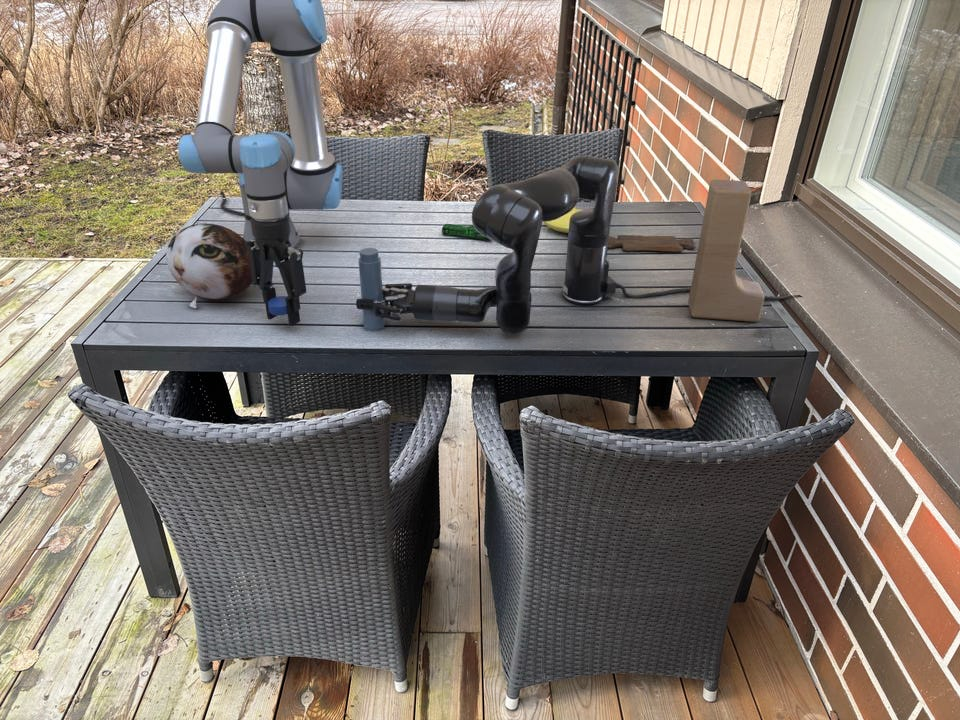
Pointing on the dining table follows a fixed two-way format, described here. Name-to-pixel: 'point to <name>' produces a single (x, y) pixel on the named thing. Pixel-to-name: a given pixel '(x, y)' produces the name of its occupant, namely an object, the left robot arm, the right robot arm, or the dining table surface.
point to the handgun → (463, 231)
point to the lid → (277, 305)
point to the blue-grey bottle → (371, 285)
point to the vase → (562, 222)
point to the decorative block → (723, 258)
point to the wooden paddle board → (650, 243)
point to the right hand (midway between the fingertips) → (360, 298)
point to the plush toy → (209, 261)
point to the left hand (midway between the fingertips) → (283, 319)
